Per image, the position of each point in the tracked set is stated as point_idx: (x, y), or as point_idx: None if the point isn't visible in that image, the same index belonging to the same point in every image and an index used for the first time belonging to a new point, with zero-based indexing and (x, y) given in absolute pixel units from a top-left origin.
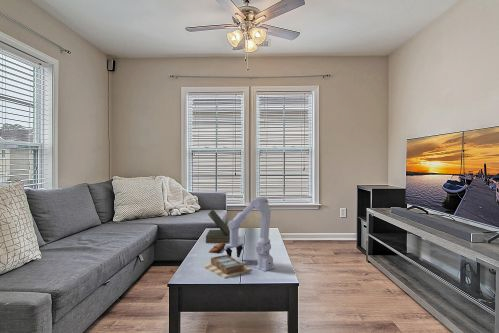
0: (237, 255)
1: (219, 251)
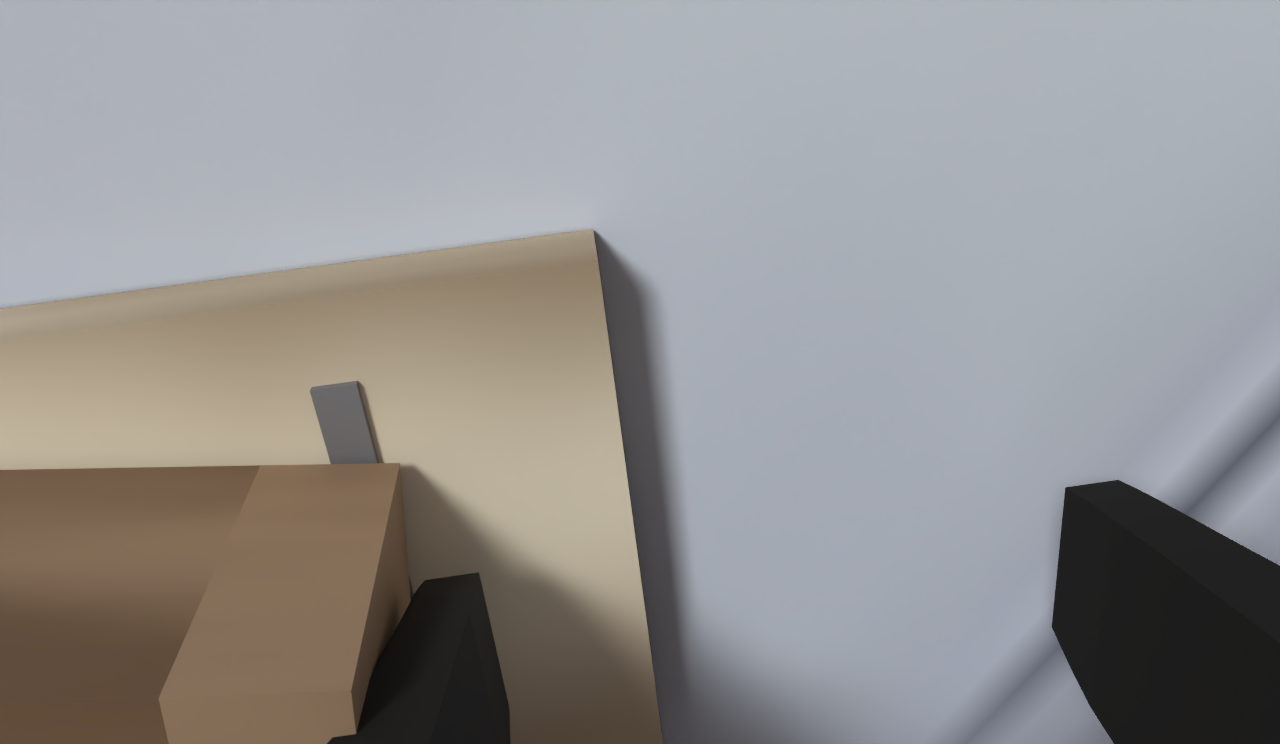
0: (1109, 582)
1: None
